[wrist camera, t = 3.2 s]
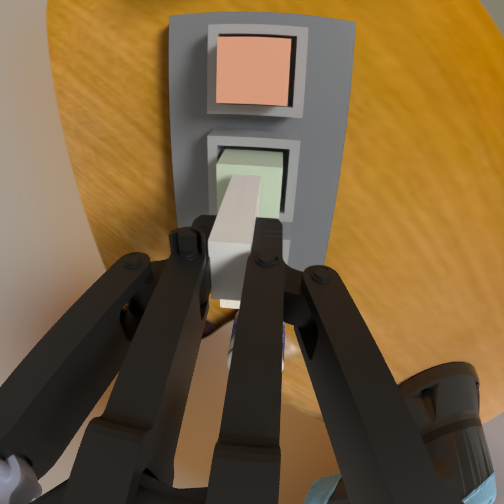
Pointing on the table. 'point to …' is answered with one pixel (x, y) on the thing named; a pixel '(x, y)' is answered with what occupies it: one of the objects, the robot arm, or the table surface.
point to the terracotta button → (253, 70)
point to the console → (263, 120)
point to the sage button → (257, 165)
